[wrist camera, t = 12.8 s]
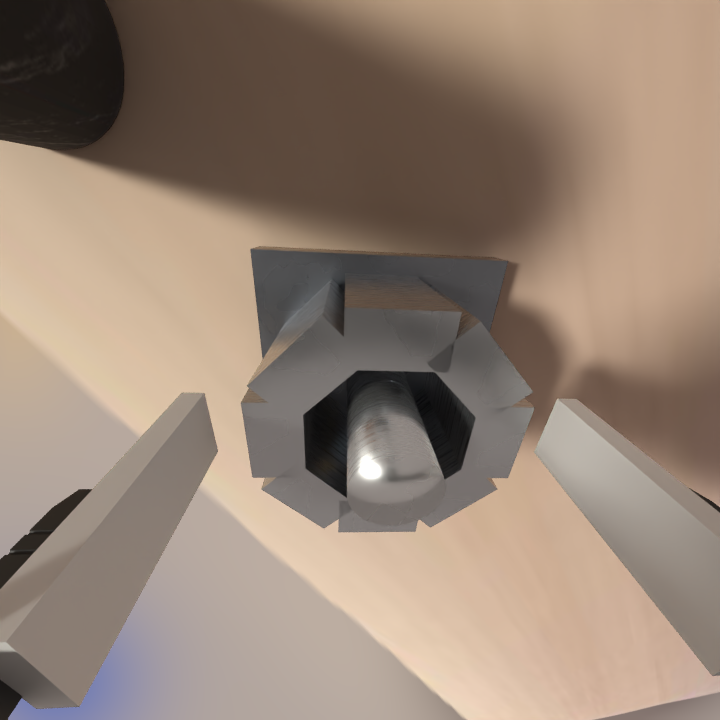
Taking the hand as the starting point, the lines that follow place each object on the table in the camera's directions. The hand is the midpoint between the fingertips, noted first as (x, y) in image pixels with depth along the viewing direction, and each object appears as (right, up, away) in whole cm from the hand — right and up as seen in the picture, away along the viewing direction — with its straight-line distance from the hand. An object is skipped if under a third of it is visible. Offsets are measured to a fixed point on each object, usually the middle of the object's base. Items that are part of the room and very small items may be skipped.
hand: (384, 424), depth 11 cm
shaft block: (0, +3, +6) cm, 7 cm away
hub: (0, +2, +5) cm, 5 cm away
